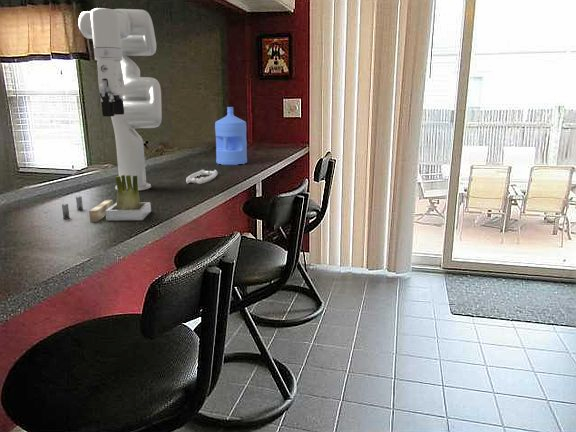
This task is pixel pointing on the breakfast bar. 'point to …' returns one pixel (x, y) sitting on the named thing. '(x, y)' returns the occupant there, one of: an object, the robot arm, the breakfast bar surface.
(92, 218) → the door edge rail
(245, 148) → the water jug
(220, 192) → the breakfast bar surface
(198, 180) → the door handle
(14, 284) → the breakfast bar surface
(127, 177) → the fennel bulb
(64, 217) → the pegs
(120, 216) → the frame
